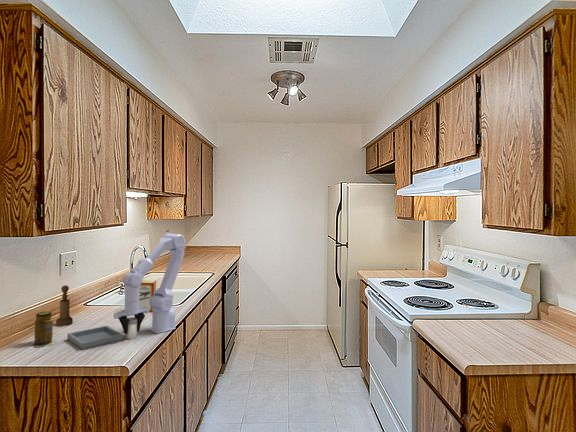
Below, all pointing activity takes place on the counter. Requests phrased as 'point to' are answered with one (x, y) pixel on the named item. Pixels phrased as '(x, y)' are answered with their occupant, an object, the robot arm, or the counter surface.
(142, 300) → the spice box
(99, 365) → the counter surface
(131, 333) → the shaker
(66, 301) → the brown pepper mill
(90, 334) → the tray
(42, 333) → the condiment
